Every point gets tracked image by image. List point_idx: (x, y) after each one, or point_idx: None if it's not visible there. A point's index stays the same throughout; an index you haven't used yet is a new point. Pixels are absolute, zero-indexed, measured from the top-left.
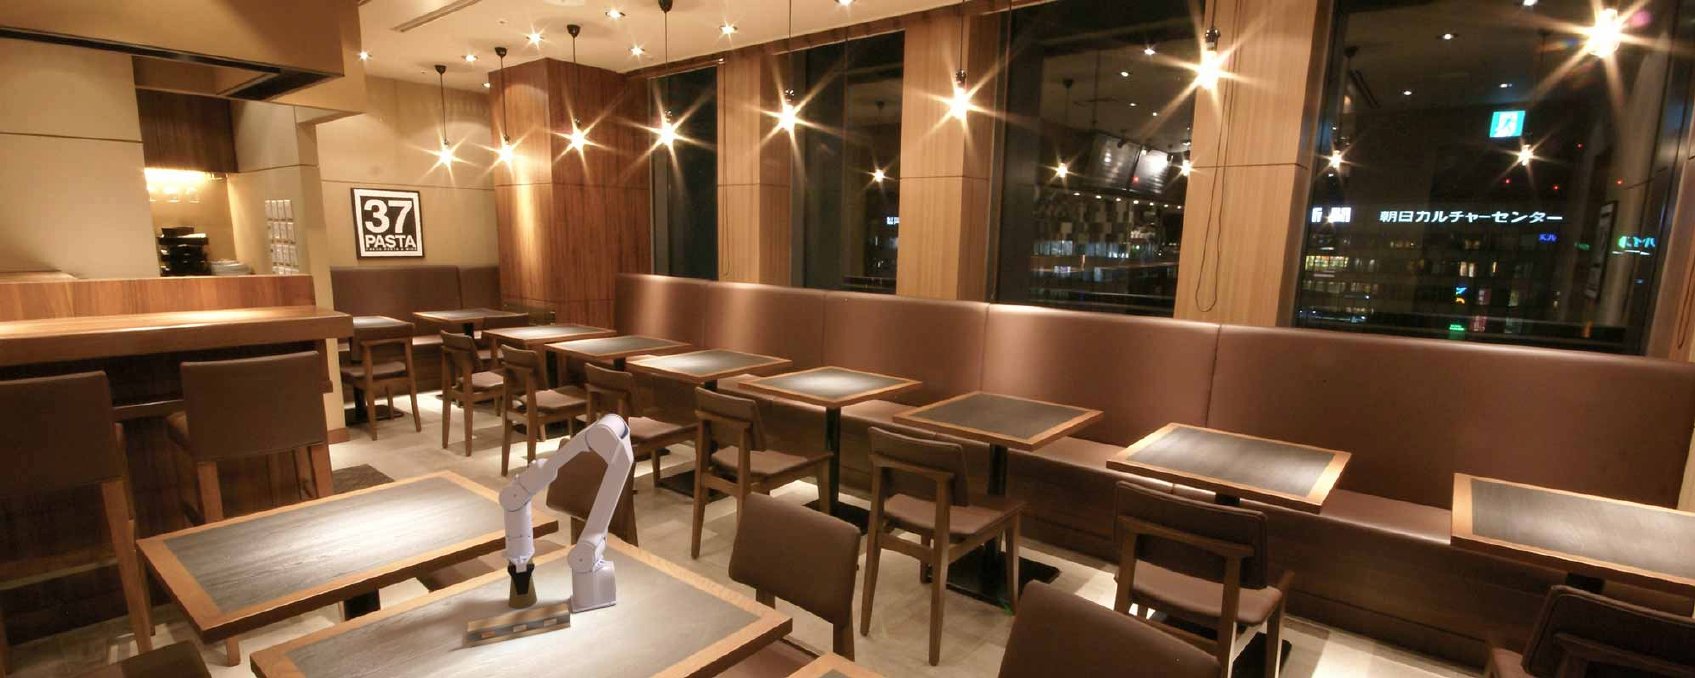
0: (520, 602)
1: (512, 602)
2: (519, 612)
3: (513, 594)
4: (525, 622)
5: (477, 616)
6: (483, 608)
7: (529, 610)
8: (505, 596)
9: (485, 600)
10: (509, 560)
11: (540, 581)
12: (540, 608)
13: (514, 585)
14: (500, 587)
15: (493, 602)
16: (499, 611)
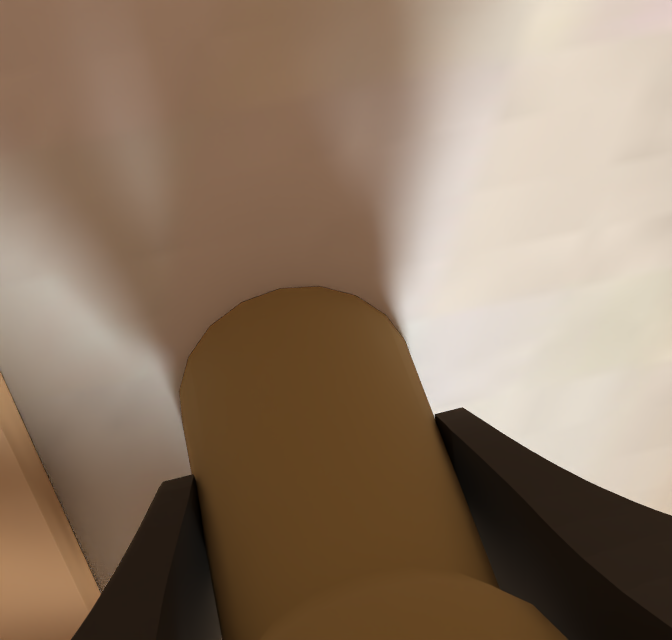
0: (186, 437)
1: (212, 362)
2: (11, 456)
3: (215, 421)
4: None
5: (71, 4)
6: (259, 43)
7: (46, 524)
8: (462, 224)
9: (441, 32)
10: (645, 624)
11: (621, 441)
12: (75, 592)
13: (227, 505)
14: (662, 140)
15: (371, 130)
16: (159, 229)
